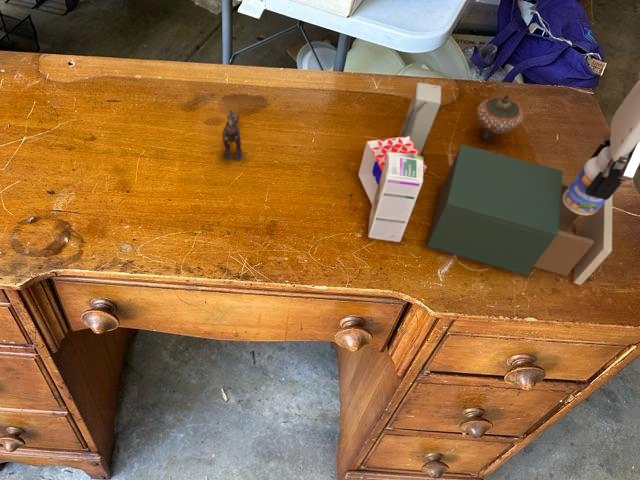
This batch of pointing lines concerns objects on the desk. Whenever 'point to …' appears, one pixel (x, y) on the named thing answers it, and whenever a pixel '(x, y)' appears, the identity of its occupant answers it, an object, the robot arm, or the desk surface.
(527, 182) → the cabinet
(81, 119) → the desk surface
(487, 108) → the acorn
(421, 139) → the box
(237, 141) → the dinosaur model
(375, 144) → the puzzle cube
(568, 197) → the pill bottle
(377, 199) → the syrup box
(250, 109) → the desk surface
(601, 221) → the drawer
